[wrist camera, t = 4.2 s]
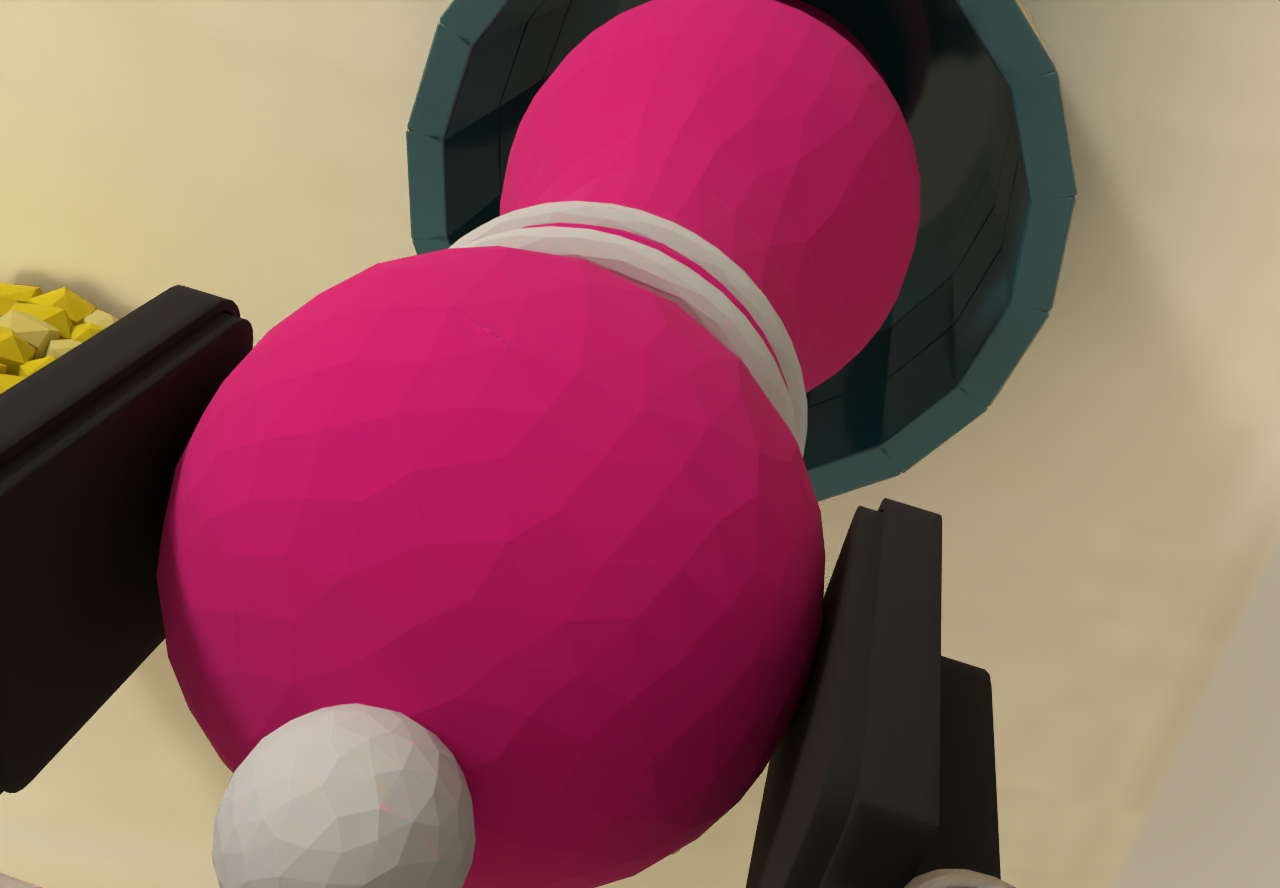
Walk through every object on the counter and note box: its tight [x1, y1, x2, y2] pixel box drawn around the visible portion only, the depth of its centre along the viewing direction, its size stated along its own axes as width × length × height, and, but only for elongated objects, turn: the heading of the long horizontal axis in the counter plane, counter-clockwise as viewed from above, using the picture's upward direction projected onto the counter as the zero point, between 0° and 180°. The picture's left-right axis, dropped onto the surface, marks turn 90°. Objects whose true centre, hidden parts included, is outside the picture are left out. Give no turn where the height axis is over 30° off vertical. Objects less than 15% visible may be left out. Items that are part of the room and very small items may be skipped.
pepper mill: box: [156, 0, 920, 888], centre depth 16 cm, size 7×7×20 cm
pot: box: [406, 0, 1077, 502], centre depth 25 cm, size 13×13×7 cm
